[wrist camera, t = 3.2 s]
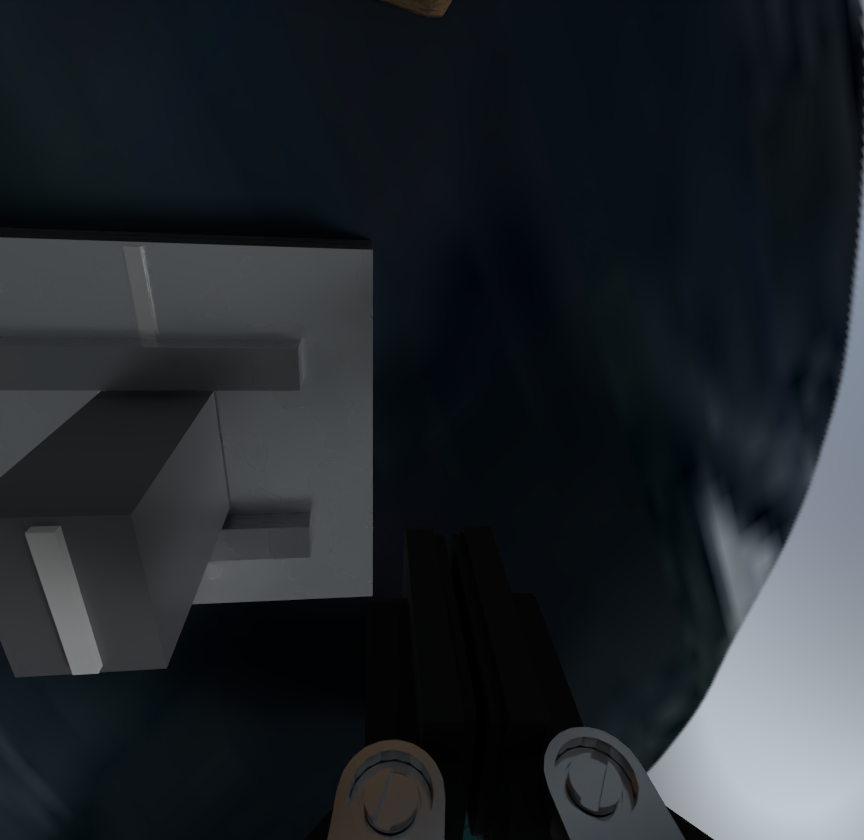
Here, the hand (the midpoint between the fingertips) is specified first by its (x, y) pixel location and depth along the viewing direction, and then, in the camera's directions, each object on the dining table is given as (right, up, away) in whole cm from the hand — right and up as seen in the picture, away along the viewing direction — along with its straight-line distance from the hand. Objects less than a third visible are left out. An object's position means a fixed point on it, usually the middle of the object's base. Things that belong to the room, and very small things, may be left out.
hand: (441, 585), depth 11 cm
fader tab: (-8, +2, +5) cm, 10 cm away
